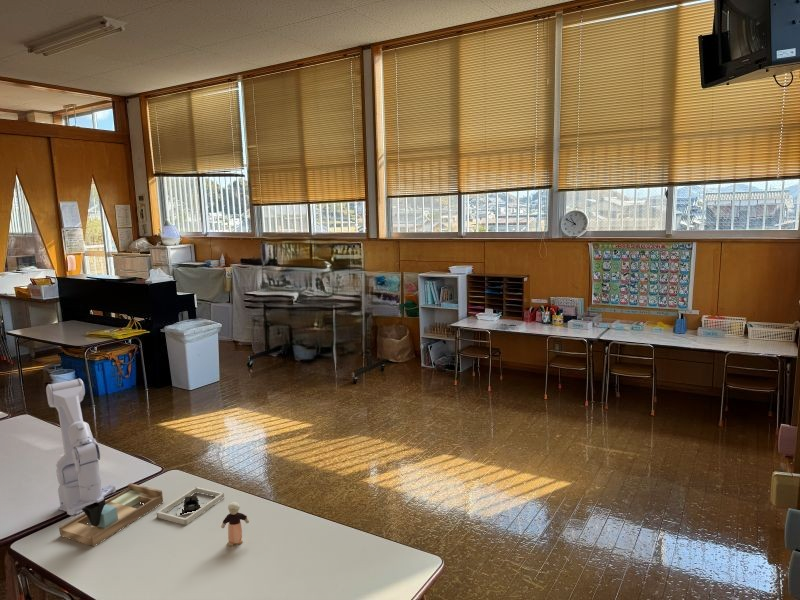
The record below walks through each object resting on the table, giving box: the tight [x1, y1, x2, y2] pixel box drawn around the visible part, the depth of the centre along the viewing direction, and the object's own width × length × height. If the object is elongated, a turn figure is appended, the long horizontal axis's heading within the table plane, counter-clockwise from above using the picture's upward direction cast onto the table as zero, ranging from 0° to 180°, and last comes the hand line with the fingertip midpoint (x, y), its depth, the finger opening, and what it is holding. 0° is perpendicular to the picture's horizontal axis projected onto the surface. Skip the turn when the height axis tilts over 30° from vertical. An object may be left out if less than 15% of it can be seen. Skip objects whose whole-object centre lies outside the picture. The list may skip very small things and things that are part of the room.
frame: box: [155, 486, 225, 526], centre depth 180 cm, size 12×17×2 cm
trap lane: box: [58, 482, 164, 547], centre depth 174 cm, size 15×26×4 cm, turn 157°
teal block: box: [98, 504, 118, 528], centre depth 168 cm, size 4×4×4 cm
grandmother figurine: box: [220, 501, 250, 547], centre depth 159 cm, size 8×4×13 cm, turn 118°
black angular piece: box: [180, 494, 201, 516], centre depth 179 cm, size 12×7×5 cm, turn 108°
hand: (95, 524), depth 165 cm, fingers closed
